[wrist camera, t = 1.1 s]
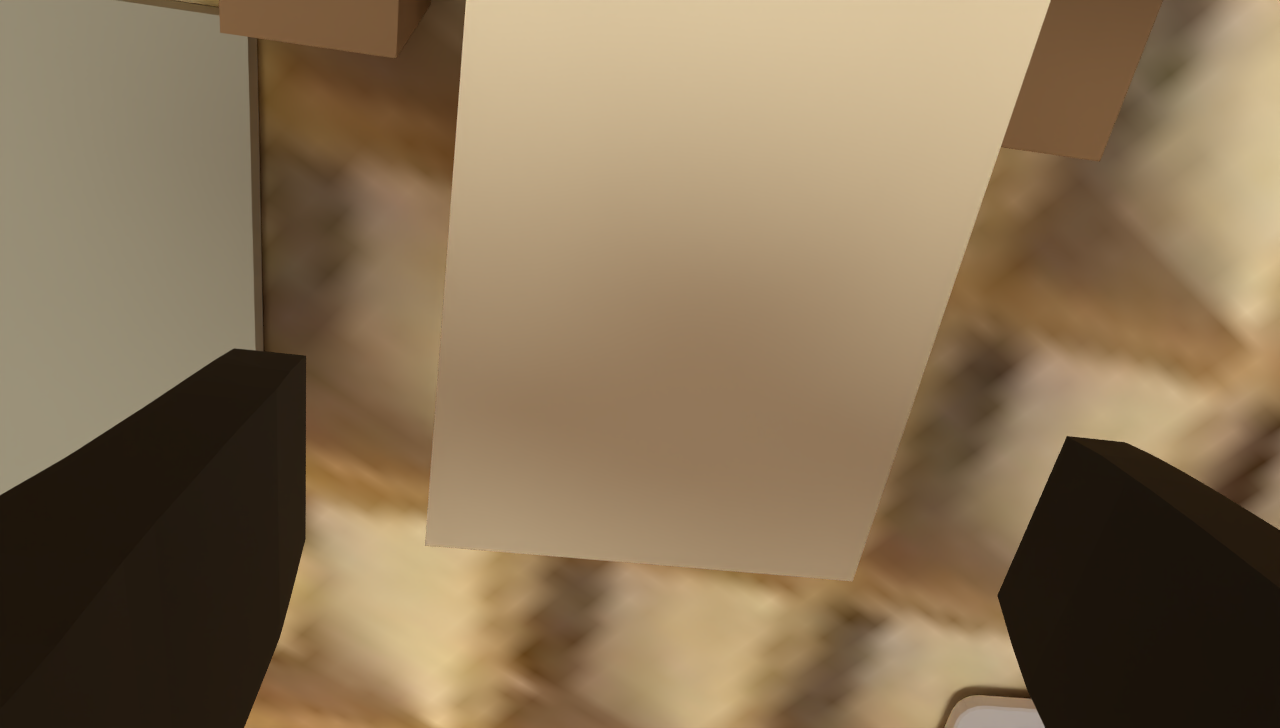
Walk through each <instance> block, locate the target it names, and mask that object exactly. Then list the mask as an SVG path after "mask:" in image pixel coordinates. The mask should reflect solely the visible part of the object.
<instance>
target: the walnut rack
mask: <svg viewBox="0 0 1280 728" xmlns="http://www.w3.org/2000/svg"><path fill="white" fill-rule="evenodd" d="M1162 2H1163V0H1051V1H1050V4H1049V7H1048V10H1047V13H1046V16H1045V19H1044V21H1043V24H1042V27H1041V30H1040V33H1039V36H1038V39H1037V42H1036V45H1035V48H1034V51H1033V54H1032V57H1031V60H1030V62H1029V65H1028V68H1027V71H1026V74H1025V77H1024V80H1023V83H1022V86H1021V89H1020V92H1019V95H1018V98H1017V101H1016V104H1015V106H1014V109H1013V112H1012V115H1011V118H1010V121H1009V124H1008V127H1007V130H1006V133H1005V136H1004V139H1003V142H1002V145H1001V147H1004V148H1011V149H1018V150H1025V151H1032V152H1039V153H1045V154H1052V155H1059V156H1066V157H1073V158H1080V159H1086V160H1093V161H1100V160H1101V157H1102V154H1103V152H1104V149H1105V147H1106V144H1107V142H1108V139H1109V137H1110V134H1111V132H1112V129H1113V126H1114V124H1115V121H1116V119H1117V116H1118V114H1119V111H1120V109H1121V106H1122V103H1123V101H1124V98H1125V96H1126V93H1127V91H1128V88H1129V86H1130V83H1131V81H1132V78H1133V75H1134V73H1135V70H1136V68H1137V65H1138V63H1139V60H1140V58H1141V55H1142V53H1143V50H1144V47H1145V45H1146V42H1147V40H1148V37H1149V35H1150V32H1151V30H1152V27H1153V24H1154V22H1155V19H1156V17H1157V14H1158V12H1159V9H1160V7H1161V4H1162ZM430 5H431V0H219V17H220V33H225V34H232V35H239V36H246V37H253V38H259V39H266V40H273V41H280V42H287V43H294V44H300V45H307V46H314V47H321V48H328V49H335V50H341V51H348V52H355V53H362V54H369V55H376V56H382V57H389V58H397V56H398V55H399V53H400V52H401V50H402V48H403V47H404V45H405V44H406V42H407V41H408V39H409V37H410V36H411V34H412V33H413V31H414V30H415V28H416V26H417V25H418V23H419V22H420V20H421V19H422V17H423V15H424V14H425V12H426V11H427V9H428V8H429V6H430Z"/></svg>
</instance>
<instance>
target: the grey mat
mask: <svg viewBox="0 0 1280 728" xmlns="http://www.w3.org/2000/svg"><path fill="white" fill-rule="evenodd" d="M234 348H236V349H246V350H255V351H263V303H262V254H261V204H260V155H259V106H258V56H257V38H253V37H246V36H239V35H232V34H225V33H220V17H219V7H213V6H206V5H199V4H192V3H186V2H179V1H172V0H0V495H1V494H3V493H5V492H6V491H8V490H10V489H12V488H13V487H15V486H17V485H19V484H20V483H22V482H24V481H25V480H27V479H29V478H31V477H32V476H34V475H36V474H38V473H39V472H41V471H43V470H45V469H46V468H48V467H50V466H51V465H53V464H55V463H57V462H58V461H60V460H62V459H64V458H65V457H67V456H68V455H70V454H72V453H73V452H75V451H76V450H78V449H80V448H81V447H83V446H84V445H86V444H87V443H89V442H90V441H92V440H94V439H95V438H97V437H98V436H100V435H101V434H103V433H104V432H106V431H108V430H109V429H111V428H112V427H114V426H115V425H117V424H118V423H120V422H121V421H123V420H125V419H126V418H128V417H129V416H131V415H132V414H134V413H135V412H137V411H139V410H140V409H142V408H143V407H145V406H146V405H148V404H149V403H151V402H152V401H154V400H155V399H157V398H158V397H160V396H161V395H163V394H164V393H166V392H167V391H169V390H170V389H172V388H173V387H175V386H176V385H178V384H179V383H181V382H182V381H184V380H185V379H187V378H188V377H190V376H191V375H193V374H194V373H196V372H197V371H199V370H200V369H202V368H203V367H205V366H206V365H208V364H209V363H211V362H212V361H214V360H215V359H217V358H219V357H220V356H222V355H224V354H225V353H227V352H229V351H230V350H232V349H234Z"/></svg>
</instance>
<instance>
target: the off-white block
mask: <svg viewBox="0 0 1280 728" xmlns="http://www.w3.org/2000/svg"><path fill="white" fill-rule="evenodd" d="M1050 1H1051V0H466V7H465V20H464V34H463V47H462V60H461V74H460V87H459V100H458V114H457V127H456V140H455V153H454V167H453V180H452V193H451V207H450V220H449V233H448V246H447V260H446V273H445V286H444V300H443V313H442V326H441V339H440V353H439V366H438V379H437V393H436V406H435V419H434V432H433V446H432V459H431V472H430V486H429V499H428V512H427V525H426V539H425V546H437V547H449V548H461V549H473V550H485V551H497V552H509V553H521V554H533V555H545V556H557V557H569V558H581V559H593V560H605V561H617V562H628V563H640V564H652V565H664V566H676V567H688V568H700V569H712V570H724V571H736V572H748V573H760V574H772V575H784V576H796V577H808V578H820V579H832V580H843V581H853V578H854V575H855V573H856V570H857V567H858V564H859V561H860V558H861V555H862V552H863V549H864V546H865V543H866V540H867V537H868V534H869V531H870V529H871V526H872V523H873V520H874V517H875V514H876V511H877V508H878V505H879V502H880V499H881V496H882V493H883V490H884V488H885V485H886V482H887V479H888V476H889V473H890V470H891V467H892V464H893V461H894V458H895V455H896V452H897V449H898V446H899V444H900V441H901V438H902V435H903V432H904V429H905V426H906V423H907V420H908V417H909V414H910V411H911V408H912V405H913V403H914V400H915V397H916V394H917V391H918V388H919V385H920V382H921V379H922V376H923V373H924V370H925V367H926V364H927V361H928V359H929V356H930V353H931V350H932V347H933V344H934V341H935V338H936V335H937V332H938V329H939V326H940V323H941V320H942V317H943V315H944V312H945V309H946V306H947V303H948V300H949V297H950V294H951V291H952V288H953V285H954V282H955V279H956V276H957V274H958V271H959V268H960V265H961V262H962V259H963V256H964V253H965V250H966V247H967V244H968V241H969V238H970V235H971V232H972V230H973V227H974V224H975V221H976V218H977V215H978V212H979V209H980V206H981V203H982V200H983V197H984V194H985V191H986V189H987V186H988V183H989V180H990V177H991V174H992V171H993V168H994V165H995V162H996V159H997V156H998V153H999V150H1000V147H1001V145H1002V142H1003V139H1004V136H1005V133H1006V130H1007V127H1008V124H1009V121H1010V118H1011V115H1012V112H1013V109H1014V106H1015V104H1016V101H1017V98H1018V95H1019V92H1020V89H1021V86H1022V83H1023V80H1024V77H1025V74H1026V71H1027V68H1028V65H1029V62H1030V60H1031V57H1032V54H1033V51H1034V48H1035V45H1036V42H1037V39H1038V36H1039V33H1040V30H1041V27H1042V24H1043V21H1044V19H1045V16H1046V13H1047V10H1048V7H1049V4H1050Z"/></svg>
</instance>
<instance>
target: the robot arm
mask: <svg viewBox="0 0 1280 728" xmlns="http://www.w3.org/2000/svg"><path fill="white" fill-rule="evenodd" d="M305 511H306V356H302V355H293V354H284V353H274V352H265V351H255V350H246V349H236V348H234V349H232V350H230V351H229V352H227V353H225V354H224V355H222V356H220V357H219V358H217V359H215V360H214V361H212V362H211V363H209V364H208V365H206V366H205V367H203V368H202V369H200V370H199V371H197V372H196V373H194V374H193V375H191V376H190V377H188V378H187V379H185V380H184V381H182V382H181V383H179V384H178V385H176V386H175V387H173V388H172V389H170V390H169V391H167V392H166V393H164V394H163V395H161V396H160V397H158V398H157V399H155V400H154V401H152V402H151V403H149V404H148V405H146V406H145V407H143V408H142V409H140V410H139V411H137V412H135V413H134V414H132V415H131V416H129V417H128V418H126V419H125V420H123V421H121V422H120V423H118V424H117V425H115V426H114V427H112V428H111V429H109V430H108V431H106V432H104V433H103V434H101V435H100V436H98V437H97V438H95V439H94V440H92V441H90V442H89V443H87V444H86V445H84V446H83V447H81V448H80V449H78V450H76V451H75V452H73V453H72V454H70V455H68V456H67V457H65V458H64V459H62V460H60V461H58V462H57V463H55V464H53V465H51V466H50V467H48V468H46V469H45V470H43V471H41V472H39V473H38V474H36V475H34V476H32V477H31V478H29V479H27V480H25V481H24V482H22V483H20V484H19V485H17V486H15V487H13V488H12V489H10V490H8V491H6V492H5V493H3V494H1V495H0V728H244V726H245V724H246V721H247V719H248V716H249V714H250V711H251V709H252V706H253V704H254V701H255V699H256V696H257V694H258V691H259V689H260V686H261V684H262V681H263V679H264V676H265V674H266V671H267V669H268V666H269V664H270V661H271V659H272V656H273V653H274V651H275V648H276V646H277V643H278V640H279V638H280V635H281V631H282V627H283V624H284V620H285V616H286V613H287V609H288V605H289V601H290V598H291V594H292V590H293V586H294V582H295V578H296V574H297V570H298V566H299V562H300V558H301V554H302V550H303V546H304V543H305ZM998 599H999V602H1000V606H1001V609H1002V612H1003V616H1004V619H1005V623H1006V626H1007V630H1008V633H1009V636H1010V640H1011V643H1012V646H1013V649H1014V652H1015V655H1016V658H1017V661H1018V664H1019V667H1020V670H1021V673H1022V676H1023V679H1024V682H1025V685H1026V687H1027V690H1028V692H1029V694H1030V696H1031V699H1028V698H1014V697H999V696H985V695H973V696H969V697H966V698H963V699H962V700H960V701H959V702H958V703H957V704H956V705H955V706H954V708H953V709H952V711H951V713H950V716H949V718H948V720H947V723H946V725H945V727H944V728H1280V530H1278V529H1277V528H1275V527H1274V526H1272V525H1270V524H1269V523H1267V522H1266V521H1264V520H1262V519H1261V518H1259V517H1257V516H1256V515H1254V514H1252V513H1251V512H1249V511H1248V510H1246V509H1244V508H1243V507H1241V506H1239V505H1238V504H1236V503H1235V502H1233V501H1231V500H1230V499H1228V498H1226V497H1225V496H1223V495H1221V494H1220V493H1218V492H1216V491H1215V490H1213V489H1211V488H1210V487H1208V486H1206V485H1205V484H1203V483H1201V482H1200V481H1198V480H1196V479H1194V478H1193V477H1191V476H1189V475H1187V474H1186V473H1184V472H1182V471H1181V470H1179V469H1177V468H1175V467H1173V466H1172V465H1170V464H1168V463H1166V462H1164V461H1162V460H1161V459H1159V458H1157V457H1155V456H1153V455H1151V454H1149V453H1147V452H1145V451H1143V450H1140V449H1138V448H1136V447H1134V446H1132V445H1130V444H1128V443H1125V442H1117V441H1107V440H1098V439H1088V438H1079V437H1069V436H1067V437H1066V440H1065V442H1064V444H1063V447H1062V449H1061V451H1060V454H1059V456H1058V458H1057V460H1056V463H1055V465H1054V467H1053V470H1052V472H1051V474H1050V476H1049V479H1048V481H1047V483H1046V486H1045V488H1044V490H1043V492H1042V495H1041V497H1040V499H1039V502H1038V504H1037V506H1036V508H1035V511H1034V513H1033V515H1032V518H1031V520H1030V522H1029V525H1028V527H1027V529H1026V531H1025V534H1024V536H1023V538H1022V541H1021V543H1020V545H1019V547H1018V550H1017V552H1016V554H1015V557H1014V559H1013V561H1012V563H1011V566H1010V568H1009V570H1008V573H1007V575H1006V577H1005V579H1004V582H1003V584H1002V586H1001V589H1000V591H999V593H998Z"/></svg>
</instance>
